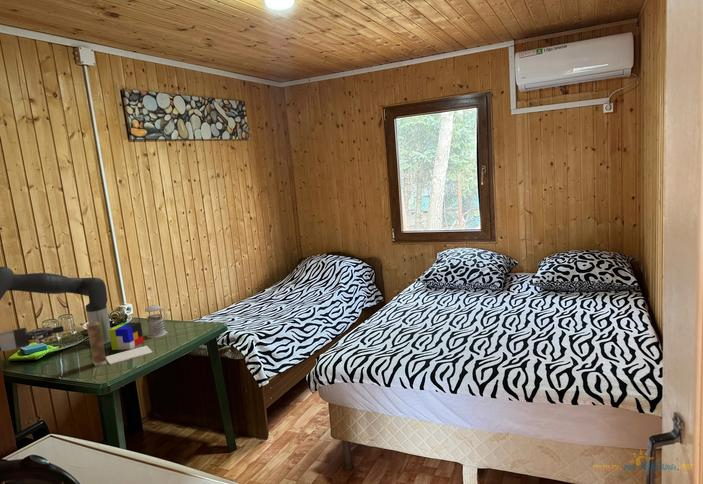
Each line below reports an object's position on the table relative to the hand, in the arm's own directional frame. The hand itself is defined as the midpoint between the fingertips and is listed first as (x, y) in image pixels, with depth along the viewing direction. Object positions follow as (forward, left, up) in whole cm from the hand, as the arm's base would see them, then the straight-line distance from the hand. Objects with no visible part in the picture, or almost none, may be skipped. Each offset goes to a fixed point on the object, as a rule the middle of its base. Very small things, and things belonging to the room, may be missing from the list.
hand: (63, 328), depth 203 cm
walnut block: (+3, +11, -19) cm, 22 cm away
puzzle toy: (-8, +29, -19) cm, 36 cm away
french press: (-10, +46, -19) cm, 51 cm away
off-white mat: (+6, +22, -19) cm, 30 cm away
